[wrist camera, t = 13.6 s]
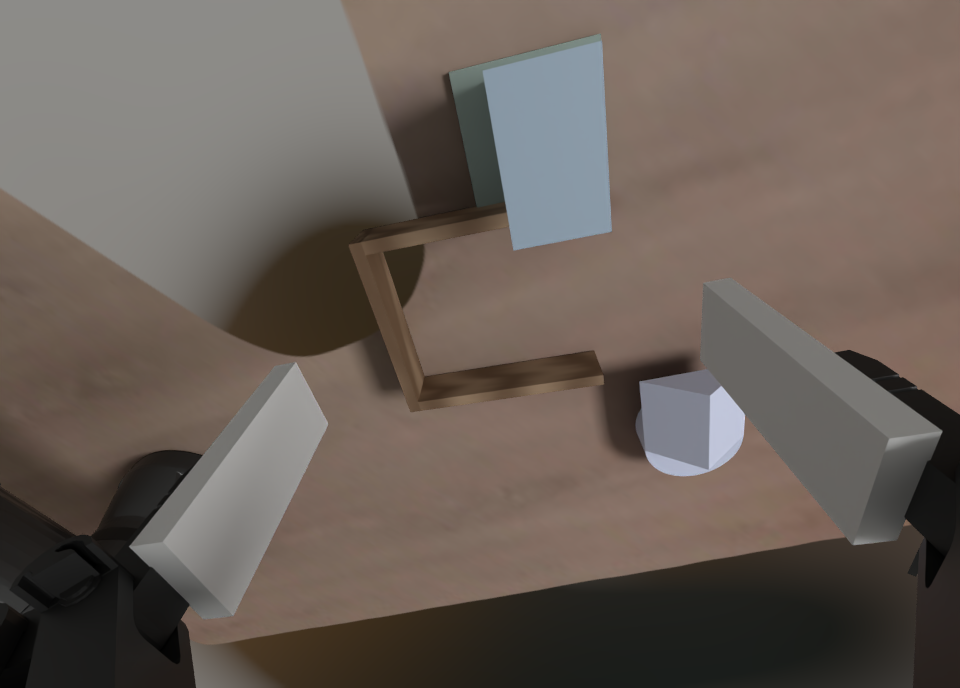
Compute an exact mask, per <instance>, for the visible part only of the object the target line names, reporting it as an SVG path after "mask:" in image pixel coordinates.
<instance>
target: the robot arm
mask: <svg viewBox="0 0 960 688" xmlns="http://www.w3.org/2000/svg"><path fill="white" fill-rule="evenodd" d="M700 360H701V362H702V363H703V364H704V365H705V366H706V368H707V369H708V370H709V371H710V372H711V374H712V375H713V376H714V377H715V379H716V380H717V381H718V382H719V383H720V385H721V386H722V387H723V388H724V389H725V391H726V392H727V393H728V394H729V396H730V397H731V398H732V399H733V400H734V402H735V403H736V404H737V405H738V406H739V408H740V409H741V410H742V411H743V412H744V414H745V415H746V416H747V417H748V419H749V420H750V421H751V422H752V423H753V425H754V426H755V427H756V428H757V429H758V431H759V432H760V433H761V434H762V436H763V437H764V438H765V439H766V440H767V442H768V443H769V444H770V445H771V446H772V448H773V449H774V450H775V451H776V453H777V454H778V455H779V456H780V457H781V459H782V460H783V461H784V462H785V463H786V465H787V466H788V467H789V468H790V470H791V471H792V472H793V473H794V474H795V476H796V477H797V478H798V479H799V480H800V482H801V483H802V484H803V485H804V487H805V488H806V489H807V490H808V491H809V493H810V494H811V495H812V496H813V497H814V499H815V500H816V501H817V502H818V503H819V505H820V506H821V507H822V508H823V510H824V511H825V512H826V513H827V514H828V516H829V517H830V518H831V519H832V520H833V522H834V523H835V524H836V525H837V527H838V528H839V529H840V530H841V531H842V533H843V534H844V535H845V536H846V537H847V539H848V540H849V541H850V542H851V544H852V545H858V544H866V543H876V542H885V541H893V540H897V539H898V536H899V534H900V532H901V529H902V527H903V524H904V522H905V520H906V519H907V520H908V521H909V522H910V523H911V524H912V525H913V526H914V527H915V528H916V529H917V530H918V531H919V532H920V533H921V534H922V535H923V536H924V539H923V541H922V543H921V546H920V548H919V550H918V552H917V554H916V556H915V559H914V561H913V563H912V565H911V567H910V569H909V571H908V574H911V575H913V576H916V575H917V574H918V585H917V586H918V587H917V608H916V630H915V653H914V676H913V688H960V415H959V414H958V413H956V412H955V411H953V410H952V409H950V408H949V407H947V406H946V405H944V404H943V403H941V402H940V401H938V400H937V399H935V398H934V397H932V396H931V395H929V394H928V393H926V392H925V391H923V390H922V389H921V390H918V389H917V386H915V385H914V384H912V383H911V382H909V381H908V380H906V379H905V378H903V377H902V378H900V377H899V374H897V373H896V372H894V371H893V370H891V369H890V368H888V367H887V366H885V365H884V364H882V363H881V362H879V361H878V360H875V359H873V358H870V357H867V356H864V355H862V354H859V353H856V352H854V351H851V350H846V351H841V352H835V353H834V352H832V351H831V350H830V349H828V348H827V347H826V346H824V345H823V344H821V343H820V342H819V341H817V340H816V339H815V338H813V337H812V336H810V335H809V334H808V333H806V332H805V331H803V330H802V329H801V328H799V327H798V326H797V325H795V324H794V323H792V322H791V321H790V320H788V319H787V318H785V317H784V316H783V315H781V314H780V313H779V312H777V311H776V310H774V309H773V308H772V307H770V306H769V305H767V304H766V303H765V302H763V301H762V300H761V299H759V298H758V297H756V296H755V295H754V294H752V293H751V292H749V291H748V290H747V289H745V288H744V287H743V286H741V285H740V284H738V283H737V282H736V281H734V280H733V279H731V278H726V279H721V280H716V281H711V282H706V283H703V302H702V328H701V353H700ZM327 426H328V422H327V420H326V418H325V417H324V415H323V413H322V411H321V409H320V407H319V405H318V403H317V401H316V399H315V398H314V396H313V394H312V392H311V390H310V388H309V386H308V384H307V382H306V380H305V379H304V377H303V375H302V373H301V371H300V369H299V367H298V365H297V363H296V362H294V363H289V364H284V365H279V366H275V367H274V368H273V369H272V371H271V372H270V373H269V374H268V375H267V377H266V378H265V379H264V380H263V382H262V383H261V384H260V385H259V387H258V388H257V389H256V390H255V392H254V393H253V394H252V395H251V397H250V398H249V399H248V400H247V401H246V403H245V404H244V405H243V406H242V408H241V409H240V410H239V411H238V413H237V414H236V415H235V416H234V418H233V419H232V420H231V421H230V423H229V424H228V425H227V426H226V427H225V429H224V430H223V431H222V432H221V434H220V435H219V436H218V437H217V439H216V440H215V441H214V442H213V444H212V445H211V446H210V447H209V449H208V450H207V451H206V452H205V453H204V455H203V456H201V455H197V454H193V453H188V452H181V451H163V452H157V453H153V454H150V455H148V456H145V457H144V458H142V459H141V460H139V461H138V462H137V463H136V464H135V465H134V466H133V467H132V468H131V469H130V470H129V471H128V473H127V474H126V475H125V476H124V477H123V478H122V480H121V482H120V484H119V487H118V490H117V492H116V494H115V495H114V497H113V499H112V501H111V503H110V505H109V507H108V509H107V511H106V513H105V515H104V517H103V519H102V521H101V523H100V525H99V527H98V529H97V530H96V531H95V532H94V534H93V535H92V536H88V535H79V536H76V535H74V534H73V533H71V532H70V531H68V530H67V529H65V528H63V527H62V526H60V525H59V524H57V523H56V522H54V521H53V520H51V519H50V518H48V517H47V516H45V515H44V514H42V513H40V512H39V511H37V510H36V509H34V508H33V507H31V506H30V505H28V504H27V503H25V502H24V501H22V500H20V499H19V498H17V497H16V496H14V495H13V494H11V493H10V492H8V491H7V490H5V489H4V488H2V487H0V688H196V685H195V678H194V669H193V662H192V654H191V647H190V639H189V631H188V629H187V627H186V625H185V623H184V622H182V621H181V618H182V616H183V615H184V613H185V611H186V610H187V608H188V606H190V607H191V608H192V609H193V610H194V611H196V612H197V613H198V614H199V615H200V616H201V617H202V618H203V619H211V618H220V617H229V616H234V614H235V612H236V610H237V608H238V605H239V603H240V601H241V599H242V597H243V595H244V593H245V591H246V589H247V587H248V585H249V583H250V581H251V579H252V577H253V575H254V573H255V571H256V569H257V567H258V565H259V563H260V561H261V559H262V557H263V555H264V553H265V551H266V549H267V547H268V545H269V543H270V541H271V539H272V537H273V535H274V533H275V531H276V529H277V527H278V525H279V523H280V521H281V519H282V517H283V515H284V513H285V511H286V509H287V507H288V505H289V503H290V501H291V499H292V497H293V495H294V493H295V491H296V489H297V487H298V485H299V483H300V481H301V478H302V476H303V474H304V472H305V470H306V468H307V466H308V464H309V462H310V460H311V458H312V456H313V454H314V452H315V450H316V448H317V446H318V444H319V442H320V440H321V438H322V436H323V434H324V432H325V430H326V428H327ZM0 485H1V484H0Z"/></svg>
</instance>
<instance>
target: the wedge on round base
mask: <svg viewBox="0 0 960 688" xmlns="http://www.w3.org/2000/svg"><path fill="white" fill-rule="evenodd" d="M639 383H640V395H641V406H642V408H641V409H640V411H639V413H638V415H637V418H636V432H637V435H638V437H639V439H640V442H641V444H642V447H643V449H644V451H645V454H646V456H647V459H648V460H649V462H650V463H651V464H652V465H653V466H654V467H655V468H656V469H658V470H660V471H661V472H664V473H666V474H670V475H676V476H692V475H698V474H703V473H706V472H709V471H711V470H714V469H716V468H718V467H720V466H721V465H723V464H724V463H726V462H727V461H728V460H730V459H731V458H732V457H733V456H734V455H735V454H736V452H737V451H738V449H739V448H740V446H741V444H742V441H743V435H744V421H745V414H744V412H743V411H742V410H741V409H740V408H739V406H738V405H737V404H736V403H735V402H734V400H733V399H732V398H731V397H730V396H729V394H728V393H727V392H726V391H725V389H724V388H723V387H722V386H721V385H720V383H719V382H718V381H717V380H716V379H715V377H714V376H713V375H712V374H711V372H710V371H709V370H708V369H706V370H700V371H695V372H689V373H684V374H678V375H673V376H667V377H662V378H656V379H651V380H645V381H639Z"/></svg>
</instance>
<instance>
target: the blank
mask: <svg viewBox="0 0 960 688" xmlns="http://www.w3.org/2000/svg"><path fill="white" fill-rule="evenodd" d="M483 77H484V82H485V88H486V94H487V100H488V106H489V111H490V117H491V123H492V129H493V134H494V140H495V146H496V152H497V158H498V163H499V169H500V175H501V181H502V186H503V192H504V198H505V204H506V210H507V215H508V221H509V227H510V233H511V238H512V244H513V250H518V249H524V248H529V247H534V246H539V245H544V244H550V243H555V242H560V241H565V240H571V239H576V238H581V237H586V236H592V235H597V234H602V233H607V232H612V228H611V208H610V189H609V169H608V150H607V130H606V111H605V92H604V72H603V53H602V41H599V42H595V43H591V44H587V45H583V46H579V47H575V48H571V49H567V50H563V51H559V52H555V53H551V54H547V55H543V56H539V57H535V58H531V59H527V60H523V61H519V62H515V63H511V64H507V65H503V66H499V67H495V68H491V69H487V70H483Z"/></svg>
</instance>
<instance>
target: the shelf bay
mask: <svg viewBox="0 0 960 688" xmlns="http://www.w3.org/2000/svg"><path fill="white" fill-rule="evenodd" d="M505 227H509V221H508V215H507V210H506V204H505V202H502V203H497V204H492V205H487V206H483V207H478V208H477V206H476V207H471V208H466V209H461V210H457V211H452V212H447V213H442V214H437V215H433V216H428V217H423V218H418V219H413V220H409V221H404V222H399V223H394V224H390V225H385V226H380V227H375V228H370V229H365V230H363V231H362V232H361V233H360V234H359V235H358V236H357V237H356V238H355V239H354V240H353V241H352V242H351V243H350V244H349V245H348V246H349V249H350V251H351V254H352V257H353V259H354V262H355V264H356V267H357V270H358V273H359V275H360V278H361V280H362V283H363V286H364V288H365V291H366V294H367V297H368V299H369V302H370V305H371V307H372V310H373V313H374V315H375V318H376V321H377V323H378V326H379V329H380V331H381V334H382V337H383V339H384V342H385V345H386V348H387V350H388V353H389V356H390V358H391V361H392V364H393V366H394V369H395V372H396V374H397V377H398V380H399V382H400V385H401V388H402V390H403V393H404V396H405V398H406V401H407V404H408V406H409V409H410V412H415V411H422V410H429V409H436V408H443V407H450V406H457V405H464V404H471V403H478V402H485V401H492V400H499V399H506V398H513V397H520V396H527V395H534V394H541V393H548V392H555V391H562V390H569V389H576V388H583V387H589V386H596V385H603V384H604V376H603V373H602V370H601V367H600V365H599V362H598V360H597V357H596V354H595V352H594V351H588V352H582V353H575V354H569V355H562V356H556V357H549V358H543V359H536V360H530V361H523V362H517V363H511V364H504V365H498V366H491V367H485V368H478V369H472V370H465V371H459V372H452V373H446V374H439V375H433V376H427V377H425V376H424V373H423V370H422V367H421V364H420V361H419V358H418V355H417V352H416V349H415V346H414V343H413V340H412V337H411V335H410V332H409V329H408V326H407V323H406V320H405V317H404V314H403V311H402V308H401V305H400V302H399V299H398V296H397V293H396V290H395V287H394V284H393V281H392V278H391V275H390V272H389V269H388V266H387V263H386V260H385V257H384V254H383V252H384V251H389V250H395V249H400V248H405V247H409V246H415V245H420V244H425V243H430V242H435V241H440V240H445V239H450V238H455V237H460V236H465V235H470V234H475V233H480V232H485V231H490V230H495V229H500V228H505Z"/></svg>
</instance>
